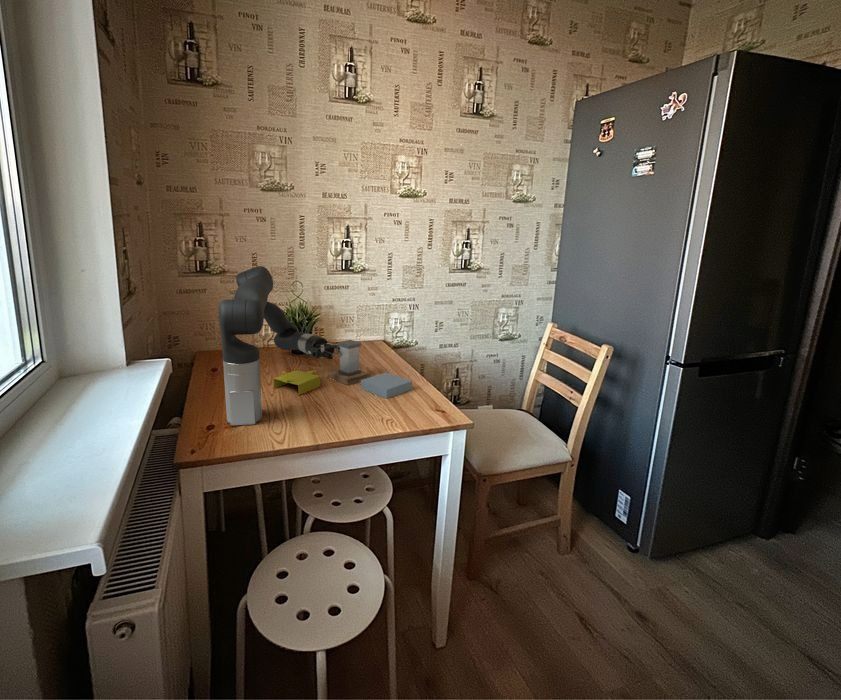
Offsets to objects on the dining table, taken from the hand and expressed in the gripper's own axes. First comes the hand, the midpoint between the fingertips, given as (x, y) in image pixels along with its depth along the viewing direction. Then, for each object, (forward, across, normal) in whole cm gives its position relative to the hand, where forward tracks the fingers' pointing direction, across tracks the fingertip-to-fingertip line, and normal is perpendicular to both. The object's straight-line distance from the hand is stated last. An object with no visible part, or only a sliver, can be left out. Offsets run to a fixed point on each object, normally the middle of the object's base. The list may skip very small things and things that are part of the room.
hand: (341, 354), depth 171 cm
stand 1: (+4, 0, +8) cm, 9 cm away
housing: (+4, 0, +6) cm, 7 cm away
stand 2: (+20, +2, +8) cm, 22 cm away
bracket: (-1, -17, +9) cm, 19 cm away
